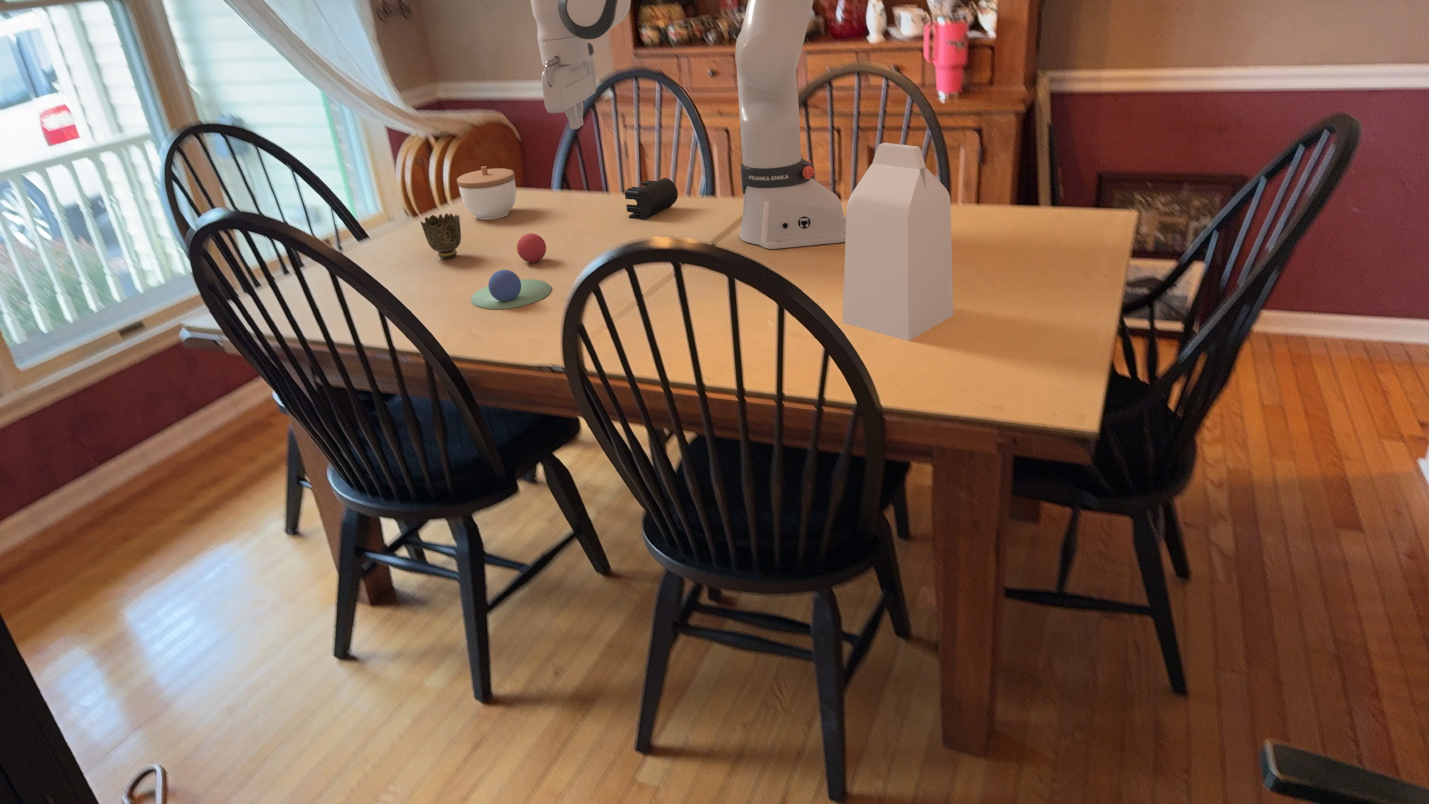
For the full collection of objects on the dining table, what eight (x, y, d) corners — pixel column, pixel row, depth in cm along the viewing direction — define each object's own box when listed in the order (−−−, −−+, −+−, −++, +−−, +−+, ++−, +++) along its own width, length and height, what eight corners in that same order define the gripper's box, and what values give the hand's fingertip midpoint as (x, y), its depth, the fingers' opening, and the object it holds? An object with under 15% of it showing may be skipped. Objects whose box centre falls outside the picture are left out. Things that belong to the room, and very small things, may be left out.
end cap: (653, 222, 201) (649, 190, 198) (626, 219, 204) (622, 188, 201) (680, 209, 208) (676, 178, 205) (653, 206, 212) (650, 176, 209)
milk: (842, 322, 144) (838, 150, 133) (887, 299, 151) (888, 133, 139) (908, 341, 137) (910, 159, 125) (953, 315, 143) (959, 141, 132)
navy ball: (523, 307, 165) (527, 278, 167) (512, 293, 160) (517, 264, 162) (492, 307, 166) (497, 278, 167) (481, 293, 161) (486, 263, 162)
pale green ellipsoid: (560, 279, 173) (560, 278, 173) (537, 308, 160) (537, 307, 160) (487, 281, 175) (487, 280, 175) (459, 310, 163) (458, 309, 163)
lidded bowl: (532, 209, 217) (524, 161, 212) (493, 225, 208) (484, 175, 203) (492, 205, 223) (483, 158, 218) (453, 221, 214) (442, 172, 209)
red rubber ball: (519, 236, 177) (540, 258, 178) (535, 223, 181) (556, 244, 182) (506, 251, 181) (527, 272, 182) (522, 237, 185) (543, 258, 186)
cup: (457, 263, 186) (448, 223, 182) (422, 263, 188) (413, 224, 184) (473, 251, 193) (465, 212, 189) (439, 251, 194) (431, 213, 190)
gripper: (561, 60, 170) (574, 138, 176) (596, 43, 187) (608, 115, 193) (528, 63, 171) (543, 140, 177) (566, 46, 189) (578, 117, 195)
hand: (577, 127), depth 185 cm, fingers closed
